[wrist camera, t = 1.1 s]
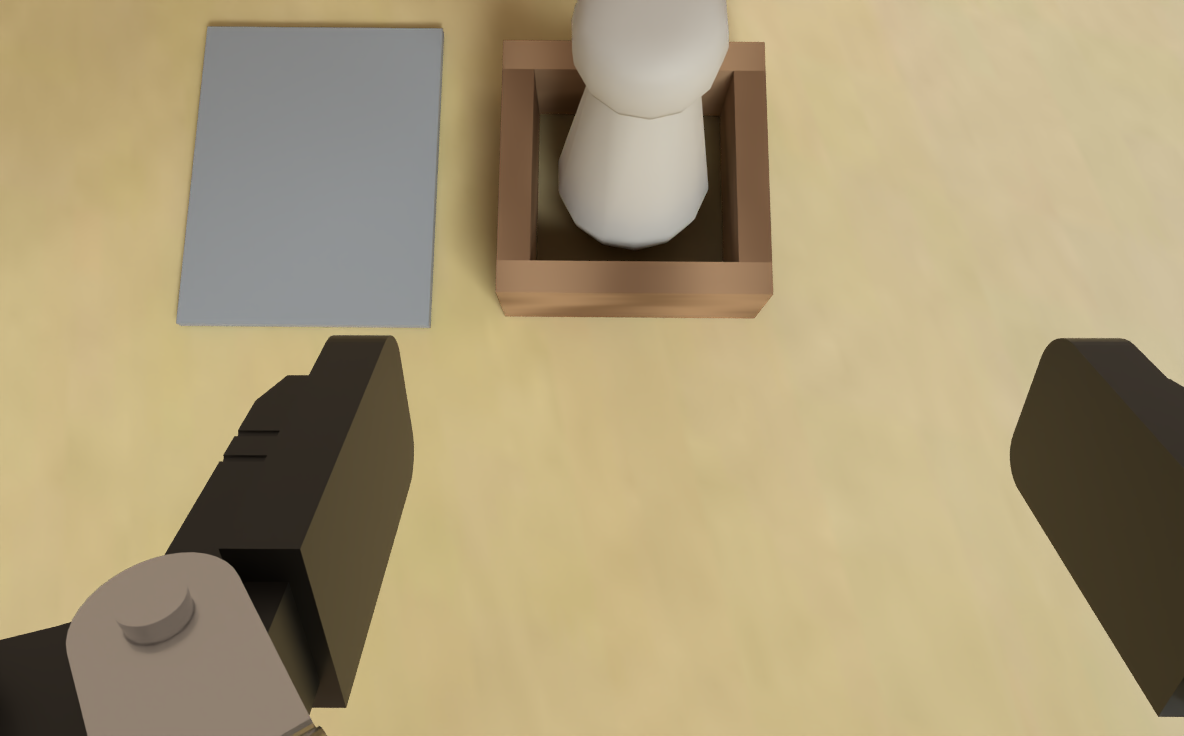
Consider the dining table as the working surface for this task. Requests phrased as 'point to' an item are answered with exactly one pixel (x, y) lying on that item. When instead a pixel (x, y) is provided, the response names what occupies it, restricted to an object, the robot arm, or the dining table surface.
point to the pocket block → (633, 288)
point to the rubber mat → (314, 178)
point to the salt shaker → (640, 117)
